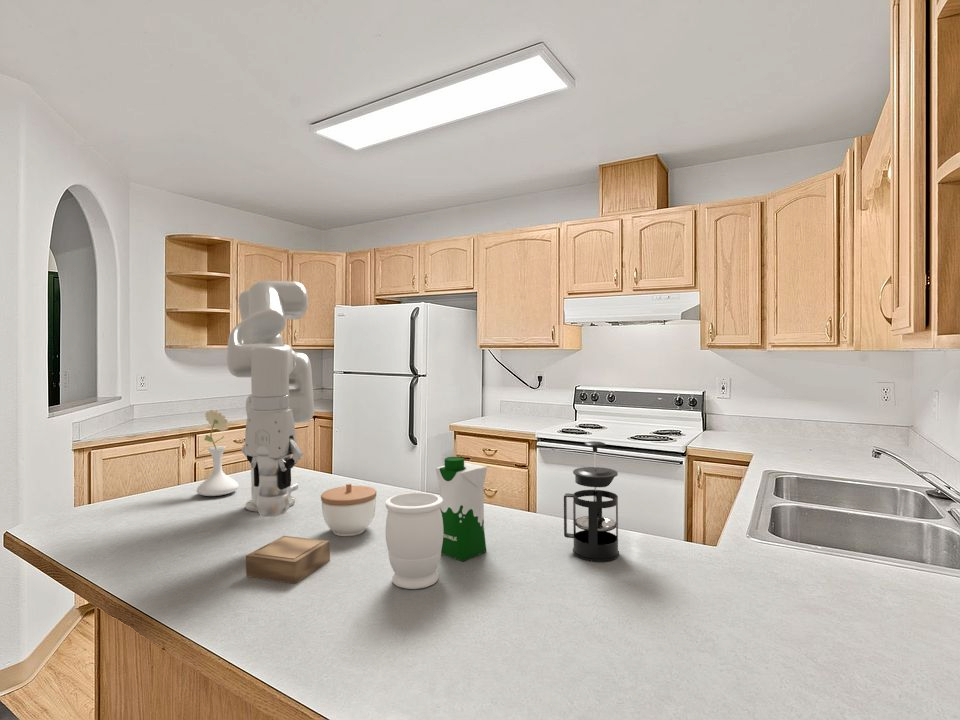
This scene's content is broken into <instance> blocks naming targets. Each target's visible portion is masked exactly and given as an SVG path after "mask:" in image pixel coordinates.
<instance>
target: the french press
mask: <svg viewBox="0 0 960 720" xmlns="http://www.w3.org/2000/svg"><path fill="white" fill-rule="evenodd" d="M584 445H585V446H587V447H592V452H593V465H594V466H588V467H587V466H586V467H579V468H575V469H574V470H573V471H572V473H573V475H574V477H575V478H574V479H575V481H574V482H575V484H577V485H579V486H583V487H587V488H588V487H589V488H594V489H584V490H581V489H580V490H578V491H575V492H573V493H569V492H568V493H565V494H564V495H563V536H564V538H567V539H570V538H571V539H573V548H572V554H573V555H574V556H575V557H576V558H578V559H579V560H583V561H587V562H592V563H593V562H594V563H607V562H611V561H615V560H616V559H618V558H619V556H620V551H619V502H618V501H619V496H618V495H617V494H616V493H614V492H611V491H608V490H604V489H603V490H601V489H597V488H606V487H608V486H610V484H612V482H613V480H614V479H615V477H617V476H618V475H619V474H618V471H616V470H615V469H611V468H607V467H599V466H598V467H597V452H598V447H604V446H606V443H605V442H601V441H595V440H594V441H593V440H591V441H586V442H585V443H584ZM583 497H593V500H592V501H591V500H585V499H581V498H583ZM603 497H604V498H606V499H607V498H608V499H611V500H606V501H605V500H604V501H603ZM568 498H572V499H573V500H572V503H573V505H572V506H573V509H572V510H573V512H572V513H573V514H572V515H573V519H572V520H573V521H572V522H573V523H572V524H573V533H569V532H568V519H567V518H568V513H567V511H568V510H567V509H568V505H567V503H568V502H567V501H568V500H567V499H568ZM576 506H580V507H583V508H588V515H586V516H579V517H578V518H577V517H576V516H577V514H576ZM613 507H615V513H616V514H615V517H616V518H615V520H614V519H612V518H610V517H605V516H603V509H609V508H613ZM577 528H578V529H581V530H579V531H577ZM613 530H615V531H616V533H615V534H614V533H612V532H610V531H613ZM576 531H577V532H576Z"/></svg>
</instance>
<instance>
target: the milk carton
mask: <svg viewBox="0 0 960 720" xmlns="http://www.w3.org/2000/svg"><path fill="white" fill-rule="evenodd" d="M487 469H488V466H487V465H486V466H485V465H481V464H475V463H470V462H465V458H464V457H462V456H449V457H445V458H444V465H441V466H437V467H435V472H436V477H437V481H438V486H439V496H441V497H442V498H443V504H442V506H441V507H440V510H441V514H442V519H443V531H444V532H443V544H442V549H441V555H443V556H448V557H449V558H451V559H455V560H458V561H461V562H465V561H467V560H470V559H472V558H474V557H477V556H479V555H481V554H483V553H486V552H487V543H486V535H485V513H484V512H485V509H484V508H485V507H484V506H485V505H484V504H485V503H484V502H485V500H484V494H485V493H484V487H485V481H486V480H485V479H486V475H487Z"/></svg>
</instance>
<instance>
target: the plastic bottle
mask: <svg viewBox="0 0 960 720" xmlns="http://www.w3.org/2000/svg"><path fill="white" fill-rule="evenodd" d="M256 452H257V455H258V456H257V457H256V458H257V463H258V472H259V491H258V494H259V495H258V497H257V510H258V513H259V515H260V516H261V517H264V518H265V517H266V518H267V517H268V518H275V517H279V516H282V515H285V514H287V511H288V510H289V496H288V493H287V488H285V489H283V490H281V489H279V475H278V473H279V471H281V468H280V465H279V462H278V459H272V458H269V457H268V456H269V452H268V450H267V448H266V446H265V447H264V445H262V446H260V447H258V449H257V450H256ZM284 460H285V463H286V458H284Z"/></svg>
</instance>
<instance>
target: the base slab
mask: <svg viewBox="0 0 960 720" xmlns="http://www.w3.org/2000/svg"><path fill="white" fill-rule="evenodd" d="M330 542H331V541H330V540H325V539H315V538H306V537H299V536H298V537H297V536H289V535H283V536H280V537H279V538H276V539H275V540H272V541H271V542H269V543H267V544H266V545H263V546H261V547H259V548H258V549H256V550H253V551H252V552H250V553H248V554H245V575H246V577H248V578H255V579H262V580H268V581H277V582H280V583H281V582H282V583H289V584H298V583H299V582H301V580H303V579H304V578H306V577H307V576H309V575H310V574H312V573H314V572H315V571H317V570H319V569H320V568H321V567H322V566H324V565H326V564H327V563H328V562H331V553H330V551H331V549H330V547H331V546H330V544H331V543H330Z"/></svg>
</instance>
